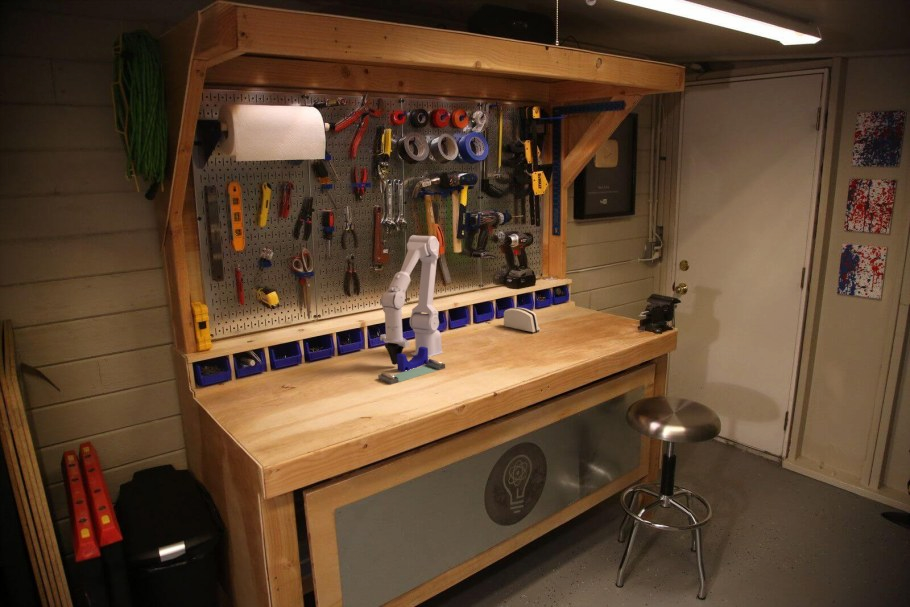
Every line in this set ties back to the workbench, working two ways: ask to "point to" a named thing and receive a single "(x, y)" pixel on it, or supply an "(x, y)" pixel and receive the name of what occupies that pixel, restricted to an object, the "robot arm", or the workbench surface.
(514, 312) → the white rounded dark-edged part
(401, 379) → the pad
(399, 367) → the blue curved cradle
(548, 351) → the workbench surface
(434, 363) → the chain end
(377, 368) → the workbench surface
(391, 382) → the block
